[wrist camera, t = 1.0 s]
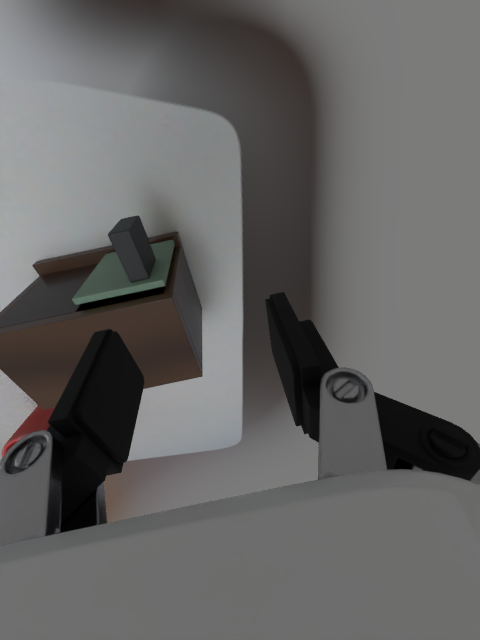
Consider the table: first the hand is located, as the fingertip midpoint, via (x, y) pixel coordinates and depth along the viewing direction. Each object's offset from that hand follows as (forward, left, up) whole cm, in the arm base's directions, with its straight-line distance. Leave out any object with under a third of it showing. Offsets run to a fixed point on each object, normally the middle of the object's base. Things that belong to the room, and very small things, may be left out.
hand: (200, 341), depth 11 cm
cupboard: (+7, -11, -22) cm, 25 cm away
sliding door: (0, -7, -20) cm, 21 cm away
